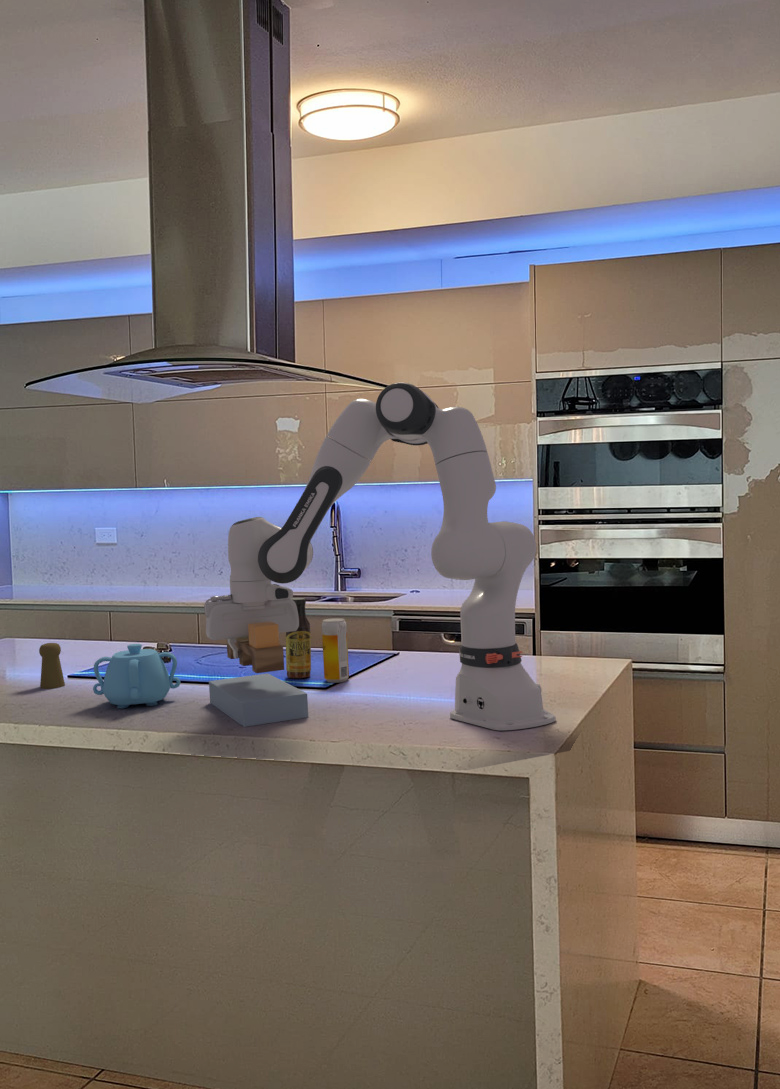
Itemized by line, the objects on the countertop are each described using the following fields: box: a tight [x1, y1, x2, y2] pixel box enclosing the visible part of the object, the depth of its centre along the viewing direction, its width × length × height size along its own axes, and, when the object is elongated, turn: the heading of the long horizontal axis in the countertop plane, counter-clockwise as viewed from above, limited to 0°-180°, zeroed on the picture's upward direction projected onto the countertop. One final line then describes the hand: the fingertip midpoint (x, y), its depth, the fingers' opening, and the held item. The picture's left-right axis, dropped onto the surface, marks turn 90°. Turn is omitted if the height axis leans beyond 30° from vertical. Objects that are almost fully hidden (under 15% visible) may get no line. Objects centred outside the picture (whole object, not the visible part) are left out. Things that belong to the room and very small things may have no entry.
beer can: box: [321, 617, 350, 684], centre depth 248 cm, size 6×6×15 cm
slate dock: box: [208, 672, 309, 728], centre depth 221 cm, size 26×14×5 cm, turn 25°
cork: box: [38, 642, 66, 690], centre depth 257 cm, size 6×6×11 cm
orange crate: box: [248, 622, 280, 648], centre depth 213 cm, size 5×5×4 cm
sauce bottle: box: [285, 597, 312, 679], centre depth 254 cm, size 6×6×20 cm
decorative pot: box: [92, 643, 181, 709], centre depth 234 cm, size 16×16×14 cm
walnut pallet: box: [225, 637, 285, 674], centre depth 221 cm, size 22×6×5 cm, turn 25°
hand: (254, 655), depth 221 cm, fingers closed on walnut pallet, 6 cm apart
